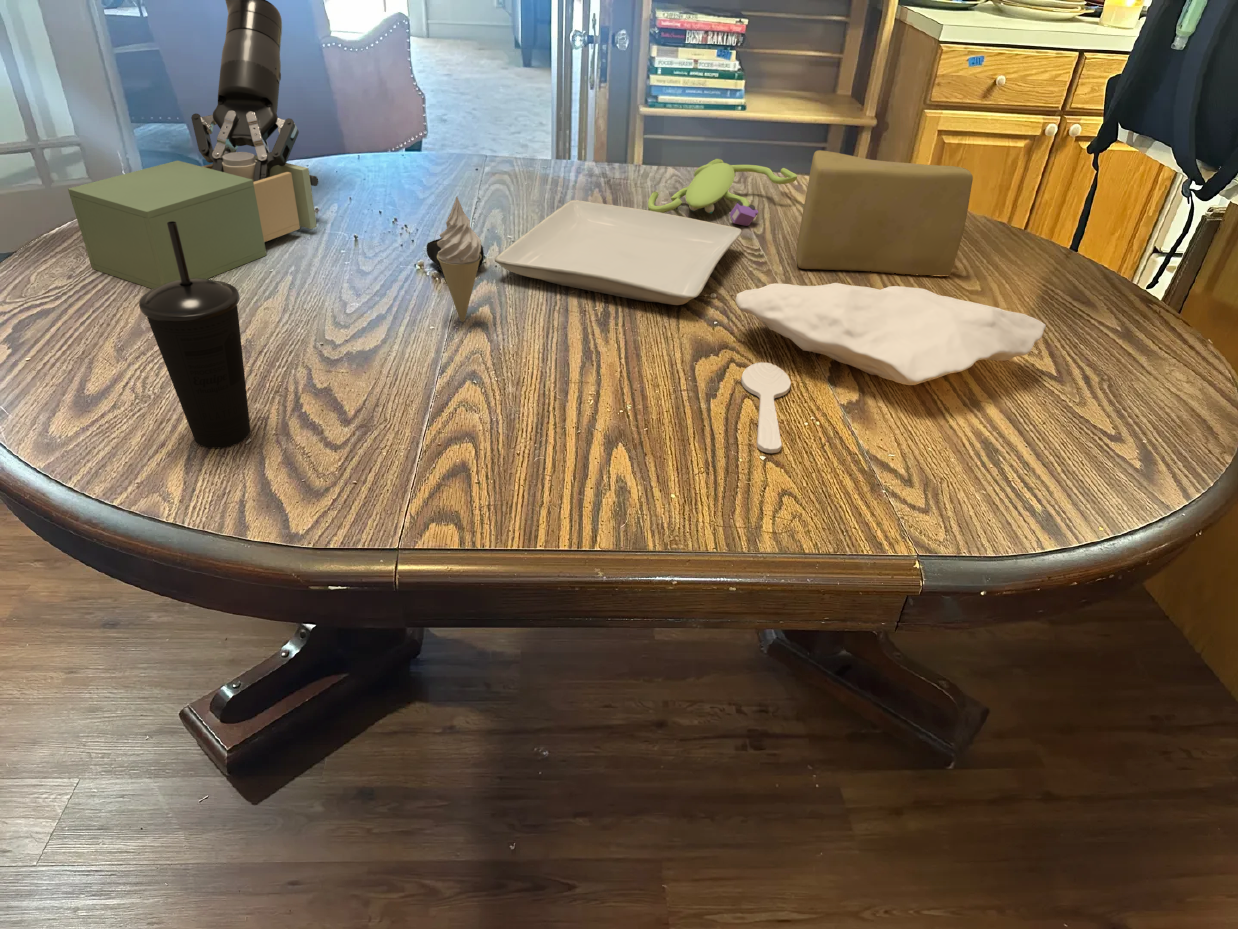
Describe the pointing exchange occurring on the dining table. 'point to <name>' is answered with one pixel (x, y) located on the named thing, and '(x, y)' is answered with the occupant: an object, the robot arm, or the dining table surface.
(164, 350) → the drinking cup
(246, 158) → the salt shaker
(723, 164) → the figurine
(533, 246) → the square plate
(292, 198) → the drawer
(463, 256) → the ice cream cone
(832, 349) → the white rock slab
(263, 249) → the cabinet
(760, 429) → the spoon
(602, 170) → the dining table surface
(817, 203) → the brown rectangular block
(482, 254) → the tape measure
